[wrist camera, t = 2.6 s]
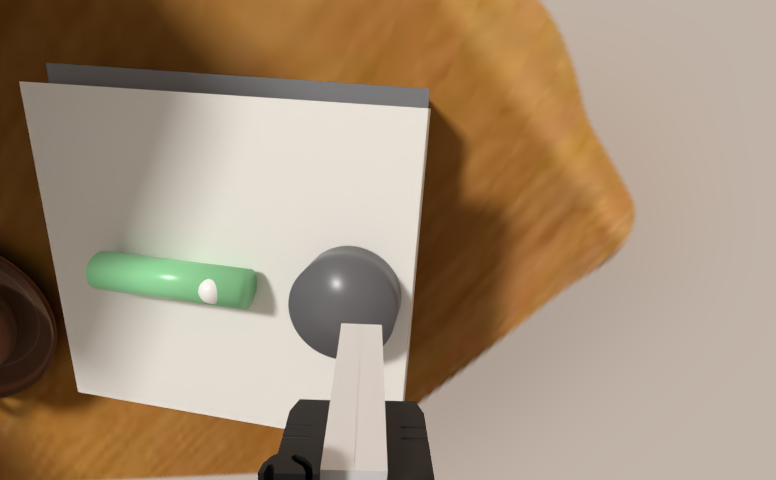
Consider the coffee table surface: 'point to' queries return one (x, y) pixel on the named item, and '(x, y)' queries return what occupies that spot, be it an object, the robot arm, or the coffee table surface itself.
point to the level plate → (226, 240)
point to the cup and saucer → (23, 331)
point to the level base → (236, 85)
